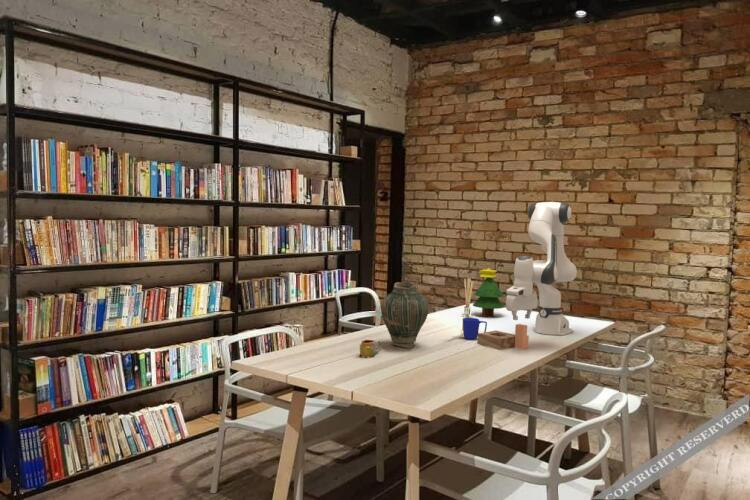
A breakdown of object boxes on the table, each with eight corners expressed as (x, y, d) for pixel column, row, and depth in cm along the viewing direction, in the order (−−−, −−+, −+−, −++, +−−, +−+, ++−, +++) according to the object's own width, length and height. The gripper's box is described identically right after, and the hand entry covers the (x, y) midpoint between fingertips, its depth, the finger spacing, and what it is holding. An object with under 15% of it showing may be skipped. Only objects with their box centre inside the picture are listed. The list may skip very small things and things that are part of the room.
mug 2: (486, 341, 280) (487, 321, 279) (461, 339, 283) (462, 320, 282) (486, 338, 288) (487, 318, 288) (462, 336, 291) (463, 317, 290)
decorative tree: (496, 320, 338) (499, 270, 335) (467, 316, 348) (469, 267, 346) (508, 315, 354) (510, 267, 352) (479, 311, 364) (481, 265, 362)
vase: (396, 338, 282) (398, 278, 280) (435, 345, 270) (437, 282, 268) (370, 346, 264) (372, 282, 262) (411, 354, 252) (413, 287, 249)
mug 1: (366, 359, 242) (367, 343, 241) (356, 355, 247) (356, 340, 246) (386, 354, 250) (387, 340, 249) (376, 351, 255) (377, 336, 254)
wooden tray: (495, 340, 284) (496, 330, 283) (518, 345, 273) (519, 335, 273) (477, 343, 275) (477, 333, 274) (500, 349, 264) (500, 339, 264)
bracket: (520, 346, 272) (521, 323, 272) (528, 347, 269) (529, 325, 268) (514, 347, 270) (515, 324, 269) (522, 349, 266) (523, 326, 265)
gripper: (530, 288, 276) (528, 316, 277) (504, 290, 263) (502, 319, 264) (541, 289, 271) (540, 318, 272) (515, 292, 258) (513, 322, 259)
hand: (521, 319), depth 268 cm, fingers open, 8 cm apart
